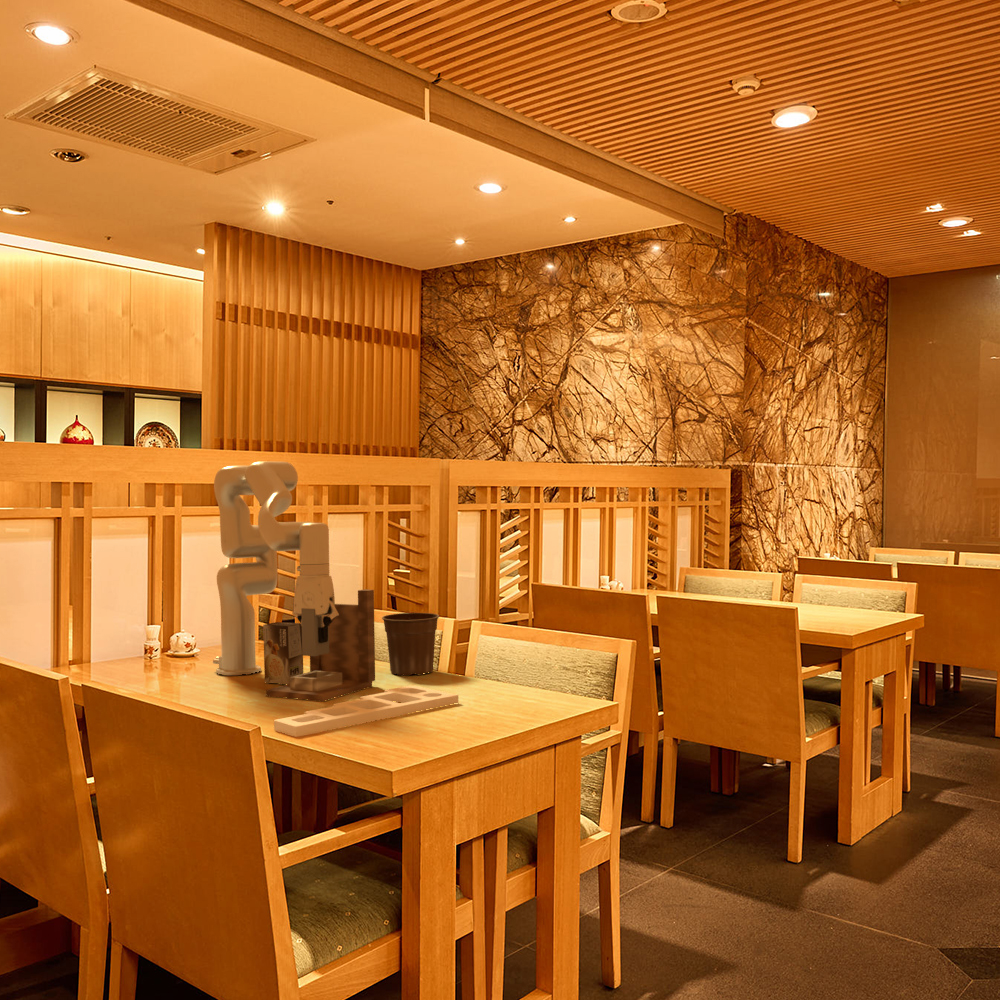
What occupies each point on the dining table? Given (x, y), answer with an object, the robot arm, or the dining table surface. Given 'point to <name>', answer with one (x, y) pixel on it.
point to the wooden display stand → (340, 656)
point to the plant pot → (411, 642)
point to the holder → (365, 710)
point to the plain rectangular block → (312, 634)
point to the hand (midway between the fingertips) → (315, 641)
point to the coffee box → (282, 651)
